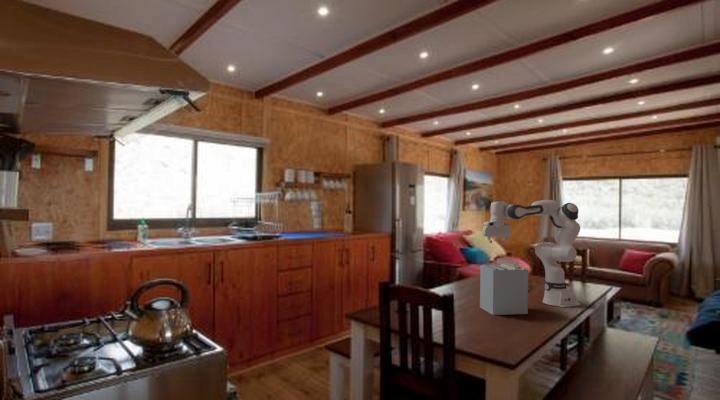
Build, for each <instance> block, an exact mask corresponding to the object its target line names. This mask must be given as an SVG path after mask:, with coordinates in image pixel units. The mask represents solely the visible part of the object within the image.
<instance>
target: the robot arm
mask: <svg viewBox="0 0 720 400" xmlns="http://www.w3.org/2000/svg"><path fill="white" fill-rule="evenodd" d="M489 212H490V218H489V220H488V221H484V222H483V227H482V231H481V235H482V236H483V237H487V240H488V243H489V244H492V243H493V240H492V239H491V237H492V238H493V237H494V238H495V237H501V238H503V239H502V240H501V241H500V242H501V244H505V242H506V240H507V237H509V238H510V237H511V236H512V225H511V223H507V222H506V223H505V219H509V220H510V219H511V220H515V221H516V220H517V221H518V220H521V219H522V218H523V217H526V216H531V215H533V216H537V217H543V216H544V217H546V216H549V219H550V221H551V224H552V225H553V226H554V227H555V228H557V229H559V230H558V232H557V233H556V234H555V236H554V241H555V243H552V242H550V243H549V242H542V243H538V244H536V246H535V248H534V253H535V255H536V257H538V258H539V259H540V261H541V262H542V265H543V267H544V272H545V274H544V276H545V280H544V293H543V299H542V301H541V302H542V303H543V304H546V305H549V306H556V307H561V308H568V307H577V306H578V307H579V306H581V303H580V302H579V301H577V297H576V295H575V293H574V292H572V291H571V290H570V289H568V288H570V287H571V283H568V282H567V283H566V282H565V270H564V268H563V267H561V266H560V265H559V264H558V263H557V262H562V263H563V262H564V263H568V262H569V263H571V262H574V261H575V260H576V258H577V250H576V248H575V247H574V246H573V244H574V242H575V240H576V239H577V238H578V235H579V233H580V231H581V225H580V223H578V222H577V221H576V220H577V219H578V218H579V208H578V206H577V205H576V204H574V203H572V202H566V203H565V204H563V205H562V206H560V204H559V202H558V201H556V200H552V199H543V200H536V201H533V202H532V203H531V205H526V206H524V205H522V204H521V205H520V204H509V203H507V202H505V201H504V200H503V199H495V200H493V201H491V204H490V211H489Z"/></svg>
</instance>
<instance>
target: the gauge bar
mask: <svg viewBox="0 0 720 400" xmlns="http://www.w3.org/2000/svg"><path fill="white" fill-rule="evenodd" d="M496 264H497V265H501V264H504V265H508V266H511V267H514V268H519V266H520V265H519V263H518V262H516V261H511V260H509V259H504V258H502V257H501V258H499V257H498V258H496Z"/></svg>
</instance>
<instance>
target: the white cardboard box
mask: <svg viewBox="0 0 720 400" xmlns="http://www.w3.org/2000/svg"><path fill="white" fill-rule="evenodd" d="M479 266H480V268H479V269H480V270H479V271H480V275H479V279H480V280H479V287H480V288H479V308H480V309H482V310H484V311H485V312H486V313H489V314H491V315H492V316H501V315H502V316H503V315H504V316H505V315H528V314H529V269H527V268H526V267H524V266H520V265H519V268H514V267H511V266H508V265H504V264H494V263H491V264H489V265H488V264H486V263H485V264H484V263H483V264H482V265H479Z"/></svg>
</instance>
